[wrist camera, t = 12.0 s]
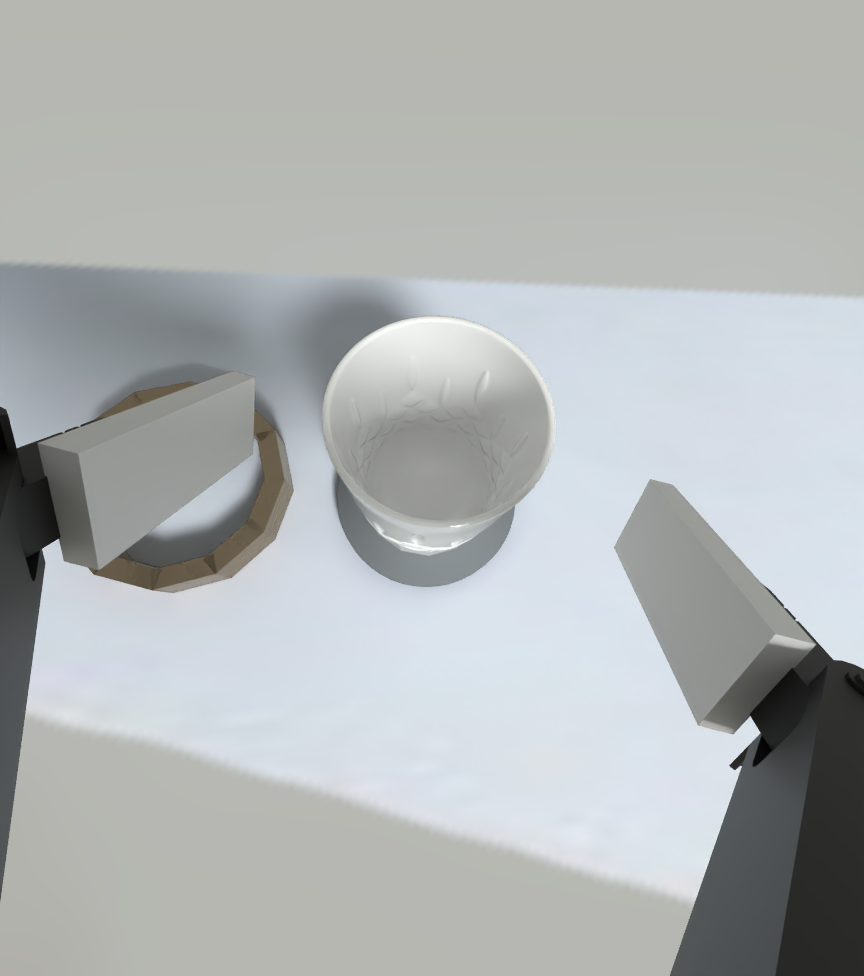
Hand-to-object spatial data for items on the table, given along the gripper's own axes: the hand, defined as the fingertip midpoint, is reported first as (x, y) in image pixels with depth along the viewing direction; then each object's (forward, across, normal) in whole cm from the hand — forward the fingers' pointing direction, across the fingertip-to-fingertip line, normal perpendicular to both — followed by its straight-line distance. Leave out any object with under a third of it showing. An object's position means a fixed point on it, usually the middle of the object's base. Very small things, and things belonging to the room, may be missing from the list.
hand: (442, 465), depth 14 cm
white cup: (+8, 0, -6) cm, 10 cm away
